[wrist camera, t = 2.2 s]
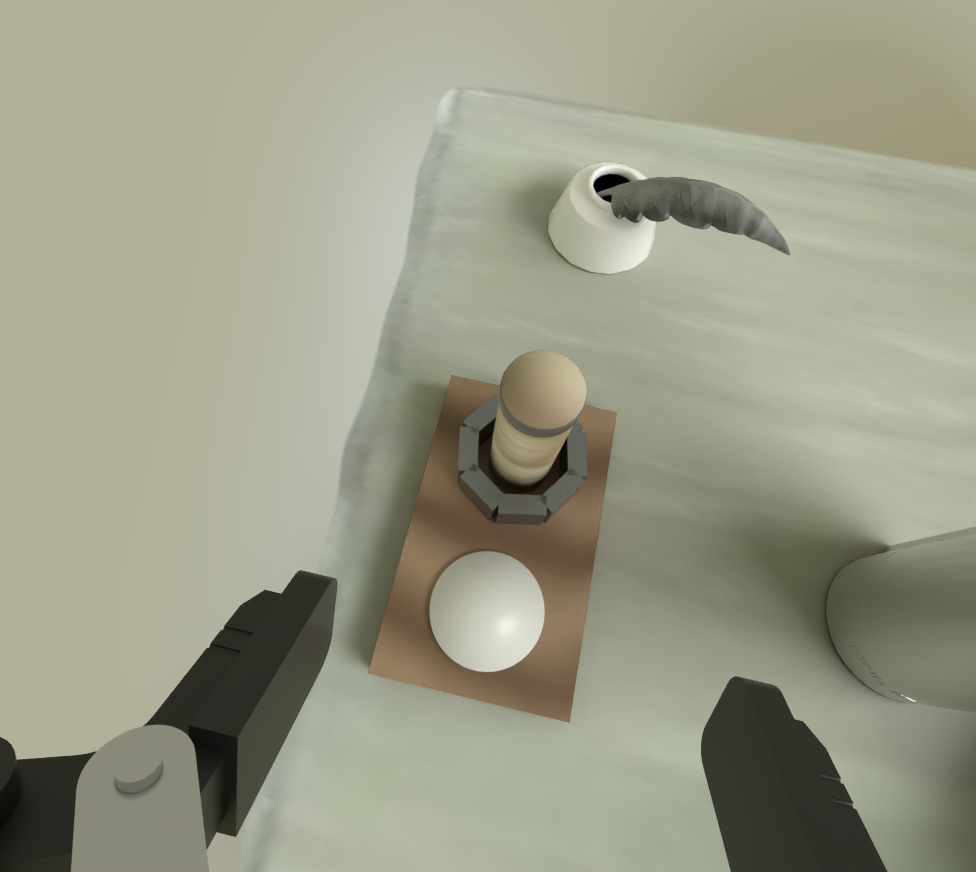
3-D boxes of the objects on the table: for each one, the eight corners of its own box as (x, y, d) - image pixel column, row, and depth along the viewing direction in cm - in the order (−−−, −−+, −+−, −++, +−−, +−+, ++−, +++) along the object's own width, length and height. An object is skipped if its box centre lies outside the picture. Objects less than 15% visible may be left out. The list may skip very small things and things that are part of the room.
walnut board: (451, 387, 41) (451, 375, 39) (609, 423, 40) (616, 412, 39) (372, 671, 34) (367, 673, 32) (563, 718, 33) (569, 722, 31)
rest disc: (489, 529, 35) (489, 528, 35) (567, 612, 34) (568, 612, 33) (406, 606, 33) (405, 606, 33) (484, 698, 32) (484, 699, 31)
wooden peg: (518, 425, 38) (544, 334, 27) (560, 467, 37) (605, 390, 26) (475, 463, 37) (482, 384, 26) (517, 507, 36) (544, 446, 25)
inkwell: (586, 173, 49) (616, 63, 40) (762, 281, 46) (839, 188, 37) (525, 235, 46) (542, 133, 37) (708, 356, 43) (777, 276, 34)
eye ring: (519, 389, 39) (523, 370, 36) (601, 469, 37) (612, 455, 34) (434, 461, 37) (432, 446, 34) (517, 550, 35) (522, 542, 32)
